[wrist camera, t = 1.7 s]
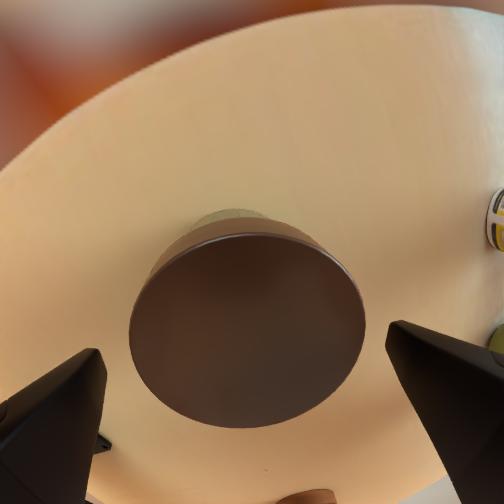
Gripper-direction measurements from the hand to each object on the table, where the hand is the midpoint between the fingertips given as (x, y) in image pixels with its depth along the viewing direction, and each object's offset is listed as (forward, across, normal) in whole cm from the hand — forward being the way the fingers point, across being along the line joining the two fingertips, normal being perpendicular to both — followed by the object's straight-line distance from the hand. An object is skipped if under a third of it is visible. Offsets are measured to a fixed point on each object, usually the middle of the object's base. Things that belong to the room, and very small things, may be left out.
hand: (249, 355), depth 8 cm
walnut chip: (+2, 0, 0) cm, 2 cm away
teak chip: (+7, -6, +30) cm, 31 cm away
